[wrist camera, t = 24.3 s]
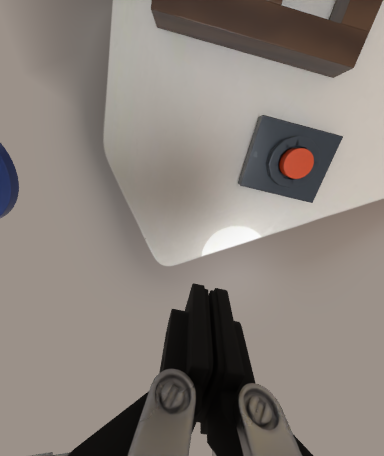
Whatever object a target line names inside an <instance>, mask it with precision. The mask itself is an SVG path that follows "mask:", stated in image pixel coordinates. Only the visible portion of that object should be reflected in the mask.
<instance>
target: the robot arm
mask: <svg viewBox="0 0 384 456" xmlns="http://www.w3.org/2000/svg"><path fill="white" fill-rule="evenodd" d="M196 422H200V423H201V434H207V443H208V444H209V446H210V447H211V449H212V450H213V451H212V453H213V456H313V455H312V454H311V453H310V452H309V451H308V450H307V448H306V447H305V446H303V444H302V443H301V442H300V441H299V440H298V439H297V438H296V437H295V436H294V435H293V433H292V431H291V429H290V427H289V424H288V422H287V419H286V418H285V415H284V413H283V410H282V408H281V406H280V404H279V402H278V401H277V399H276V398H275V397H274V395H273V394H272V393H271V392H270V391H269V390H268V389H266V388H265V387H263V386H261V385H259V384H255V380H254V376H253V372H252V367H251V363H250V360H249V355H248V351H247V347H246V343H245V339H244V335H243V331H242V327H241V324H240V323H239V322H236V321H233V316H232V312H231V306H230V301H229V296H228V292H227V291H226V290H222V289H218V288H215V290H214V291H212V290H211V291H210V293H209V295H208V290H207V289H205V288H204V286H203V285H198V284H192V288H191V291H190V295H189V298H188V301H187V305H186V309H185V311H181V310H176V309H172V310H171V314H170V318H169V322H168V327H167V332H166V337H165V343H164V349H163V355H162V361H161V367H160V373H159V374H158V375H157V376H156V377H155V379H154V381H153V383H152V385H151V387H150V390H149V392H148V393H146V394H145V395H143V396H142V397H141V398H140V399H138V400H137V401H136V402H135V403H134V404H132V405H131V406H129V407H128V408H127V409H126V410H124V411H123V412H122V413H120V414H119V415H118V416H116V417H115V418H114V419H112V420H111V421H110V422H109V423H107V424H106V425H105V426H103V427H102V428H101V429H100V430H99V431H97V432H96V433H94V434H93V435H92V436H91V437H89V438H88V439H87V440H85V441H84V442H83V443H81V444H80V445H79V446H78V447H76V448H75V449H74V450H73V451H72V452H70V453H65V454H58V455H53V453H52V452H51V453H45V454H38V455H32V456H188V455H189V448H190V440H191V434H192V432H193V429H194V427H195V424H196Z"/></svg>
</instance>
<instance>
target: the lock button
mask: <svg viewBox="0 0 384 456" xmlns="http://www.w3.org/2000/svg"><path fill="white" fill-rule="evenodd" d="M313 164H314V157H313V155H312V153H311V152H310V151H309V150H307V149H305V148H292V149H290V150H288V151H286V152H285V153H284V154H283V156H282V157H281V159H280V163H279V167H280V171H281V172H282V174H283V175H285V176H287V177H290V178H293V179H299V178H302V177H304V176H306V175H307V174H308V173H309V172H310V171H311V169H312V167H313Z"/></svg>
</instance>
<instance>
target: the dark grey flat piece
mask: <svg viewBox="0 0 384 456" xmlns="http://www.w3.org/2000/svg"><path fill="white" fill-rule="evenodd" d="M342 138H343V136H339V135H336V134H332V133H328V132H324V131H321V130H317V129H313V128H309V127H306V126H302V125H298V124H294V123H291V122H287V121H283V120H279V119H276V118H272V117H268V116H264V115H262V116H260V117H258V121H257V124H256V127H255V130H254V133H253V137H252V140H251V143H250V146H249V149H248V152H247V156H246V159H245V162H244V165H243V168H242V172H241V175H240V178H239V181H238V184H239V185H241V186H244V187H249V188H253V189H257V190H261V191H265V192H269V193H273V194H277V195H282V196H286V197H290V198H294V199H298V200H302V201H306V202H310V203H312V202H313V200H314V198H315V196H316V194H317V192H318V189H319V187H320V185H321V183H322V181H323V179H324V177H325V174H326V172H327V170H328V168H329V166H330V164H331V161H332V159H333V157H334V155H335V153H336V151H337V148H338V146H339V144H340V142H341V140H342ZM292 148H305V149H307V150H309V151H310V152H311V153H312V155H313V157H314V164H313V167H312V169H311V171H310V172H309V173H308V174H307V175H306V176H304V177H302V178H299V179H293V178H290V177H287V176H285V175H283V174H282V172H281V171H280V167H279V163H280V159H281V157H282V156H283V154H284V153H285V152H286V151H288V150H290V149H292Z"/></svg>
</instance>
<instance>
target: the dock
mask: <svg viewBox="0 0 384 456" xmlns="http://www.w3.org/2000/svg"><path fill="white" fill-rule="evenodd" d="M382 1H383V0H336V3H335V5H334V8H333V11H332V13H331V16H330V19H329V20H327V19H324V18H321V17H318V16H314V15H311V14H308V13H304V12H301V11H298V10H295V9H291V8H288V7H285V6H281V4H282V0H152V4H151V10H152V13H153V16H154V19H155V22H156V25H157V27H158V28H162V29H165V30H169V31H172V32H176V33H179V34H183V35H186V36H190V37H193V38H197V39H200V40H204V41H207V42H211V43H214V44H218V45H221V46H225V47H228V48H232V49H235V50H239V51H242V52H246V53H249V54H253V55H256V56H260V57H263V58H267V59H270V60H274V61H277V62H281V63H284V64H288V65H291V66H295V67H298V68H302V69H305V70H309V71H312V72H316V73H319V74H323V75H326V76H330V77H333V78H334V77H336V76H338V75H340V74H342V73H344V72H346V71H348V70H350V69H352V68H354V66H355V64H356V61H357V59H358V57H359V54H360V52H361V50H362V47H363V45H364V43H365V40H366V38H367V36H368V33H369V31H370V29H371V27H372V24H373V22H374V20H375V17H376V15H377V13H378V10H379V8H380V6H381V3H382Z"/></svg>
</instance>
